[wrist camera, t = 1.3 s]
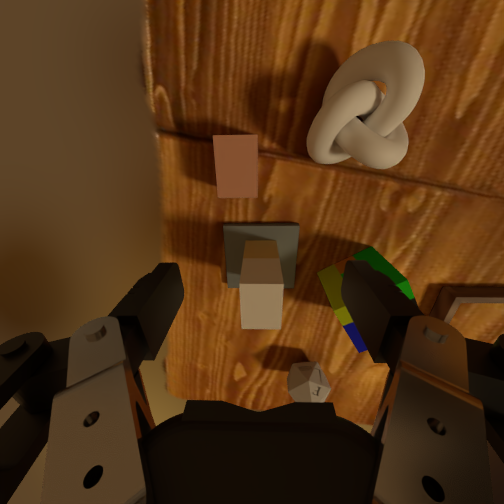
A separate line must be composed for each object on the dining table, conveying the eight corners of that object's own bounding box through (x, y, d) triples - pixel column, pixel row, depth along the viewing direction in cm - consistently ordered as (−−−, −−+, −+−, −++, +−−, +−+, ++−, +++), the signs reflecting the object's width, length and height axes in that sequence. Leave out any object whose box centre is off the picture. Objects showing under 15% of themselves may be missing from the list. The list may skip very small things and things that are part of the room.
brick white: (243, 258, 30) (239, 283, 24) (279, 258, 30) (283, 284, 24) (244, 298, 33) (241, 328, 28) (277, 298, 33) (280, 329, 27)
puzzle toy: (338, 308, 43) (359, 352, 34) (316, 272, 39) (333, 311, 30) (389, 287, 40) (426, 329, 31) (371, 245, 36) (407, 280, 27)
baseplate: (224, 223, 35) (223, 226, 34) (298, 223, 35) (299, 225, 34) (228, 283, 41) (227, 287, 40) (292, 284, 40) (293, 288, 39)
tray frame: (442, 286, 39) (456, 297, 37) (577, 287, 39) (601, 298, 36) (401, 374, 51) (408, 387, 48) (503, 376, 50) (517, 389, 47)
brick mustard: (245, 240, 35) (243, 258, 30) (276, 240, 35) (279, 258, 30) (246, 276, 38) (244, 298, 33) (274, 276, 38) (277, 298, 33)
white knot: (418, 104, 27) (484, 89, 19) (352, 188, 32) (382, 204, 24) (349, 45, 25) (392, -1, 17) (289, 145, 30) (300, 147, 22)
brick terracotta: (221, 136, 29) (212, 135, 24) (257, 135, 29) (257, 134, 24) (224, 188, 33) (218, 197, 27) (257, 188, 32) (257, 197, 27)
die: (329, 356, 49) (345, 404, 40) (308, 377, 53) (317, 425, 44) (298, 344, 47) (306, 390, 39) (277, 366, 51) (281, 414, 42)
